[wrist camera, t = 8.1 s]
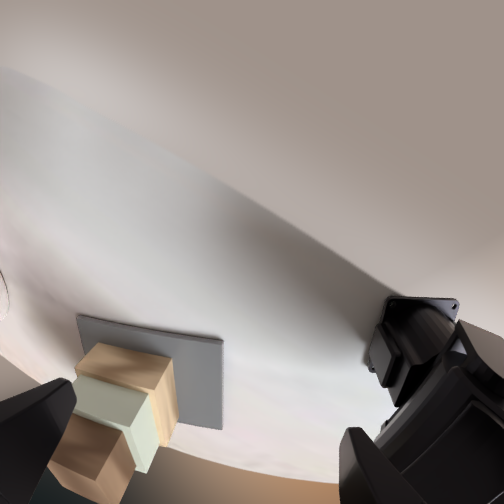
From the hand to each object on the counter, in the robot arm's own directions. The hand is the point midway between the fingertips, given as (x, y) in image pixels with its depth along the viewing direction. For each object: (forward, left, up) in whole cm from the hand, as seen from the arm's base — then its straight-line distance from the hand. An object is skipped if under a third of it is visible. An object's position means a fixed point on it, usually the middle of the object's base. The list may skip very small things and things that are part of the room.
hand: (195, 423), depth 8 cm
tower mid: (+9, +11, -8) cm, 17 cm away
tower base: (+9, +11, -12) cm, 19 cm away
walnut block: (+9, +11, -5) cm, 15 cm away
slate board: (+8, +10, -13) cm, 19 cm away
